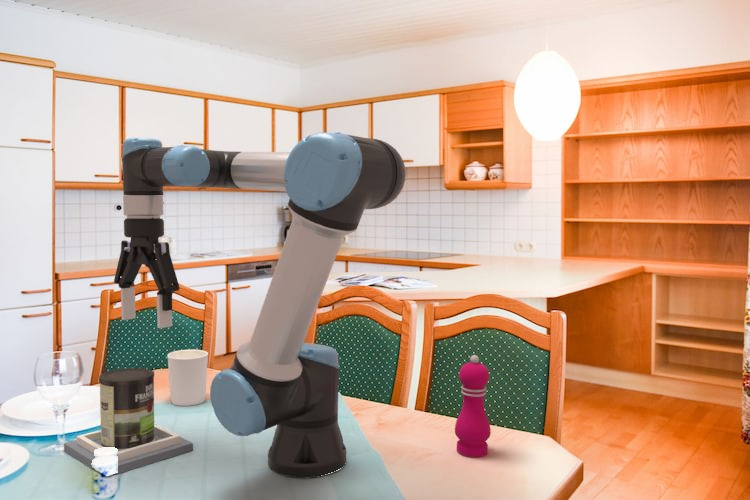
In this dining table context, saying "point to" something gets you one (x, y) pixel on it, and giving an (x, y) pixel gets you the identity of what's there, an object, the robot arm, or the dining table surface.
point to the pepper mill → (473, 410)
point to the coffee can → (127, 408)
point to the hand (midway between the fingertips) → (146, 323)
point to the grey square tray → (131, 449)
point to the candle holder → (187, 376)
